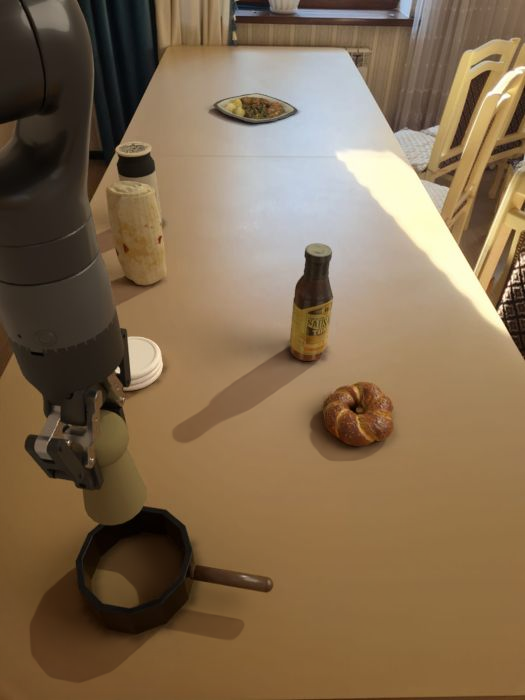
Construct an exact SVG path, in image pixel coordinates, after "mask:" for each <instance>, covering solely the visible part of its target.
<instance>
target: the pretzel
mask: <svg viewBox="0 0 525 700" xmlns="http://www.w3.org/2000/svg"><path fill="white" fill-rule="evenodd" d="M321 407H322V408H321V412H322V414H323V422H324V427H326V429H327V430H328V432H329V433H331V434H332V435H333V436H334V437H336V438H338V439H339V440H341V441H342V442H343V443H345V444H346V445H347V444H348V445H349V446H350V445H351V446H354V447H365V446H367V445H370V444H372V443H374V442H375V441H377V442H381V441H385V440H387V439H389V438H390V436H391V435H392V434H393V432H394V428H395V427H394V421H393V419H392V418H391V417H390V415H391V414H392V413H393V410H394V404H393V400H392V399H391V398H390V397H389V396H388V395H387V394H385V393H384V392H383V391H382V390H381V388H380V387H379V386H377V385H376V384H375V383H373V382H370V381H369V382H368V381H360V382H359V381H358V382H356V383H353V384H351V385H349V384H347V385H342V386H339V387H338V388H336V389H335V391H334V392H333V393H331V394H329V395H328V396H327V397H326V398H325V399H324V400H323V402H322V405H321Z"/></svg>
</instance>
